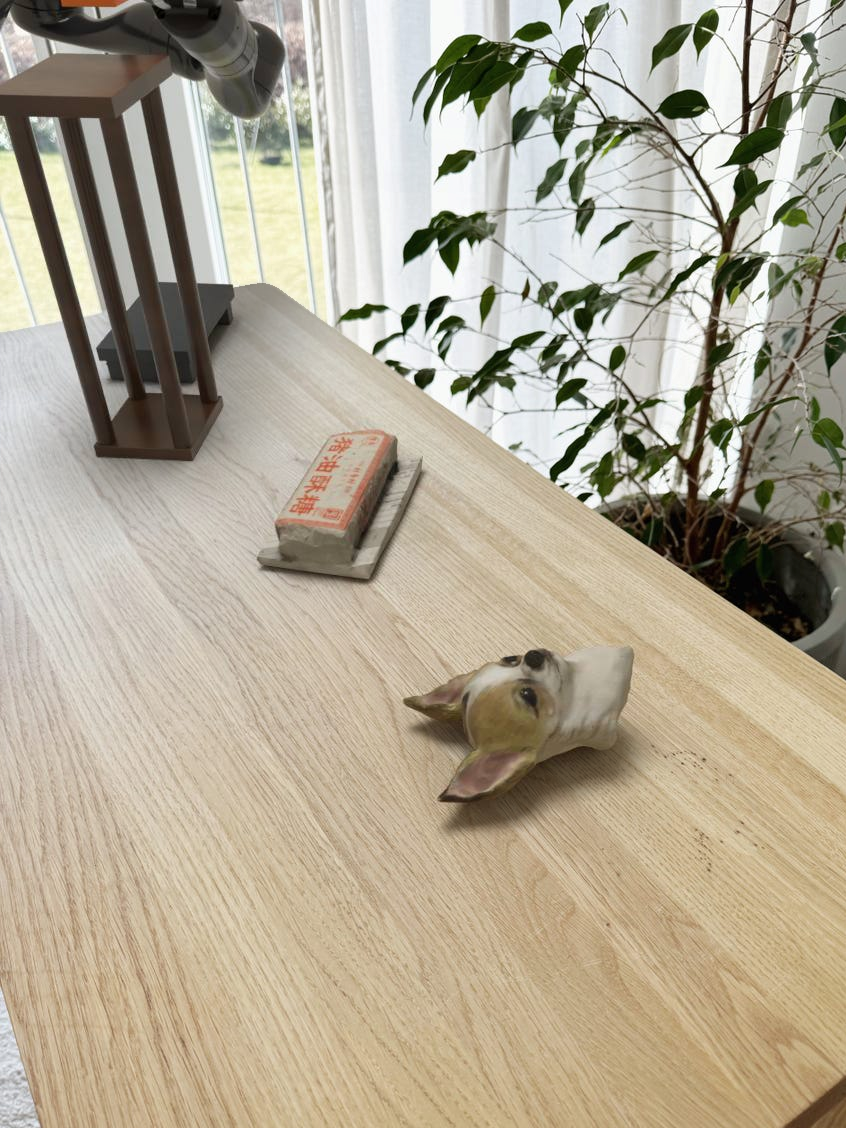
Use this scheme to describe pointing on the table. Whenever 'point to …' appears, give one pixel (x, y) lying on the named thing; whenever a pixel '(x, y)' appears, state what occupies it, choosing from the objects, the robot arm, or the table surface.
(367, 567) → the packaged product
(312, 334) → the table surface
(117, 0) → the orange block
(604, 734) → the ceramic sculpture
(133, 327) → the low shelf
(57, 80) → the tall stand
